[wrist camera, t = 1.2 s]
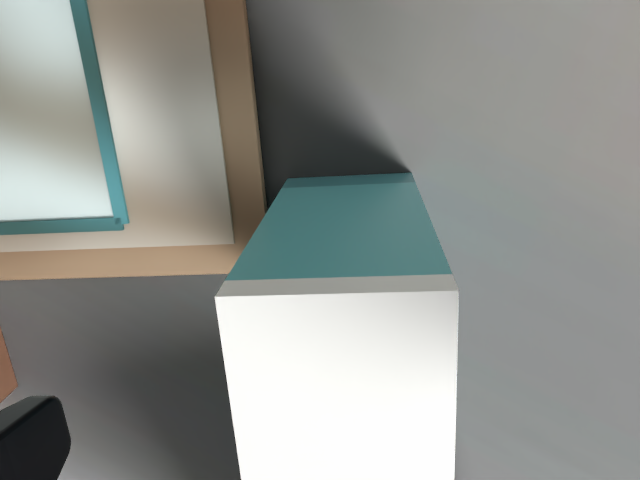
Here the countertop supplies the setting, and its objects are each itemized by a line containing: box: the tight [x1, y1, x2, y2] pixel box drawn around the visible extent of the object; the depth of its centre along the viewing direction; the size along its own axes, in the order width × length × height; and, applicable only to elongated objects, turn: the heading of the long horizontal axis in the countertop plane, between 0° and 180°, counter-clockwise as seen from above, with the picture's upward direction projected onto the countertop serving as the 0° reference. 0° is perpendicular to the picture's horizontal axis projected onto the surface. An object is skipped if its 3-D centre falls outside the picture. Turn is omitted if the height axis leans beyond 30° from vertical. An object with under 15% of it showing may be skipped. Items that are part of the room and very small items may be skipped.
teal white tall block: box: [215, 173, 459, 480], centre depth 12 cm, size 4×4×8 cm
